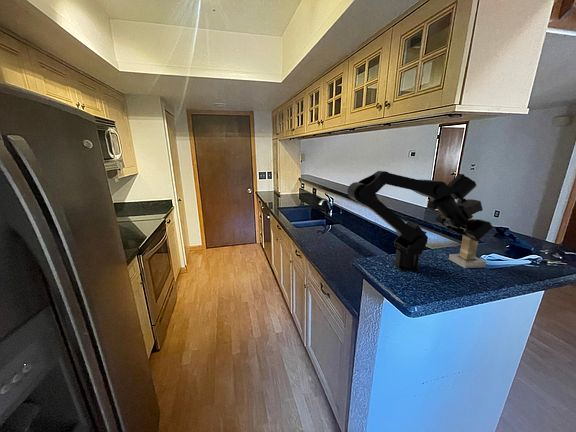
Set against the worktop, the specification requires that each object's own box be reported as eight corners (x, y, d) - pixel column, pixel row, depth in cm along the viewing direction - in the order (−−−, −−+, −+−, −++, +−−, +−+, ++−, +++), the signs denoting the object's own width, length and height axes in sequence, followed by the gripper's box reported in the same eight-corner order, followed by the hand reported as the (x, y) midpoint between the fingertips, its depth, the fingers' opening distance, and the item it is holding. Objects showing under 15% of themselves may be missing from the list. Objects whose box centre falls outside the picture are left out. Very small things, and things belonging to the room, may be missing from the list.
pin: (466, 259, 85) (473, 221, 81) (459, 256, 88) (465, 218, 84) (474, 259, 85) (482, 221, 81) (467, 255, 88) (474, 218, 85)
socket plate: (464, 268, 83) (465, 262, 82) (448, 259, 90) (449, 254, 90) (485, 267, 83) (486, 261, 83) (467, 258, 91) (468, 253, 90)
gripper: (493, 196, 71) (519, 230, 75) (447, 188, 89) (470, 216, 93) (463, 222, 73) (490, 255, 76) (424, 209, 91) (448, 236, 94)
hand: (474, 238), depth 85 cm, fingers closed on pin, 3 cm apart
